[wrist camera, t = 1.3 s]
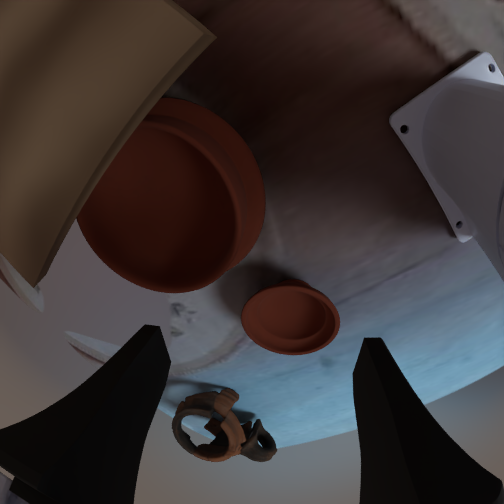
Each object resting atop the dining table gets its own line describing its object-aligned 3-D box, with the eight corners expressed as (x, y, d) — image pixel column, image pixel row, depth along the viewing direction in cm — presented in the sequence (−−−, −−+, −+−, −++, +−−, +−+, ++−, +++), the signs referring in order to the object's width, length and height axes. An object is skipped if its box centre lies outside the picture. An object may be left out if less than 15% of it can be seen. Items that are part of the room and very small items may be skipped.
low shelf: (246, 46, 14) (203, 33, 8) (87, 233, 22) (33, 288, 17) (113, -53, 10) (37, -76, 4) (3, 141, 19) (-58, 174, 13)
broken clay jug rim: (191, 412, 37) (158, 443, 29) (209, 356, 36) (174, 384, 28) (273, 451, 34) (254, 493, 26) (303, 399, 32) (287, 439, 25)
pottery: (166, 54, 14) (125, 55, 11) (386, 281, 20) (397, 327, 17) (78, 185, 20) (40, 213, 17) (265, 347, 26) (257, 390, 22)
